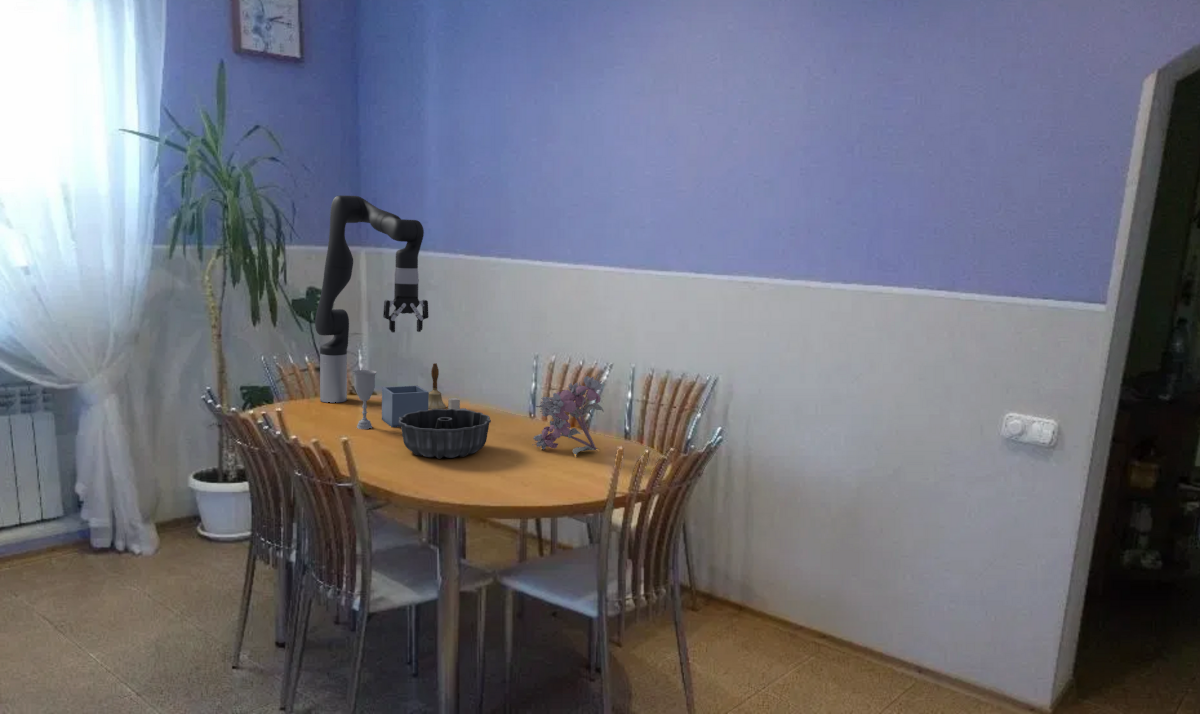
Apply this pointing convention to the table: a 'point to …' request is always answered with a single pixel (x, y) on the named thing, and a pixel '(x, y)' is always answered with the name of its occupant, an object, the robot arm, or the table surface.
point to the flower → (567, 404)
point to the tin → (402, 402)
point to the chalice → (364, 392)
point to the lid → (454, 404)
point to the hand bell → (435, 391)
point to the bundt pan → (444, 432)
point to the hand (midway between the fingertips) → (405, 331)
